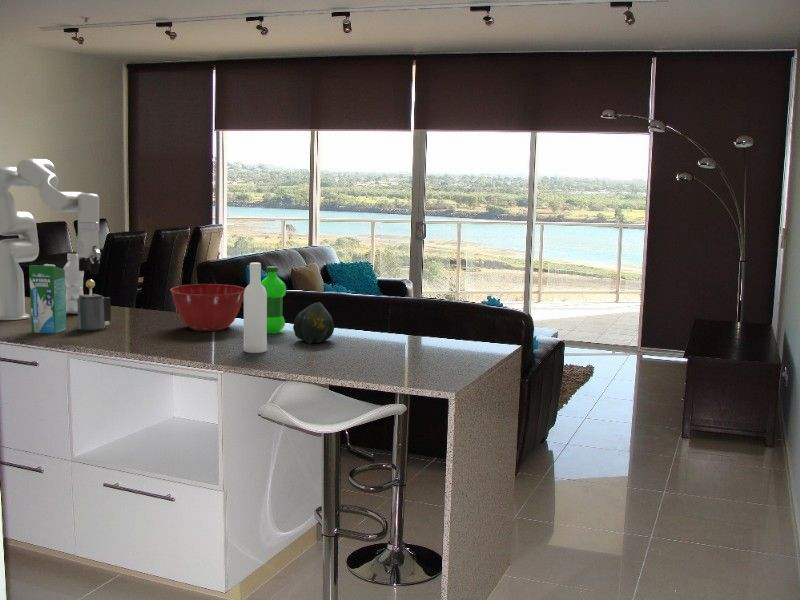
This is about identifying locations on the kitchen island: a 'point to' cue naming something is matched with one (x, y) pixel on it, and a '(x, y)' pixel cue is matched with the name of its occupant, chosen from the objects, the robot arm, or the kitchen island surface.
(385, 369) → the kitchen island surface
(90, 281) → the plunger
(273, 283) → the plastic bottle
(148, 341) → the kitchen island surface
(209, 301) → the mixing bowl
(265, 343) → the bottle
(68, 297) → the plastic bottle
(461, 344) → the kitchen island surface
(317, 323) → the squash
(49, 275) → the milk carton
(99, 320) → the carafe
